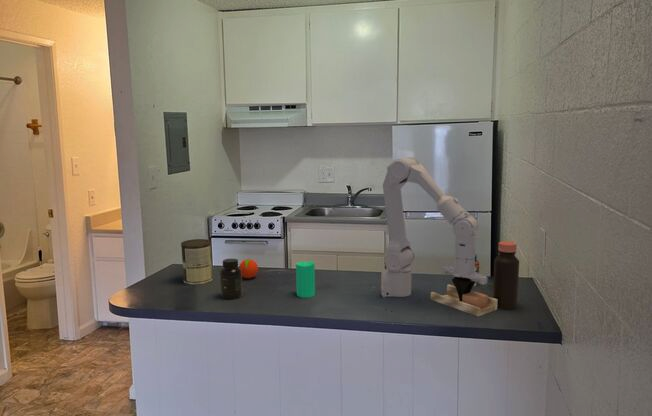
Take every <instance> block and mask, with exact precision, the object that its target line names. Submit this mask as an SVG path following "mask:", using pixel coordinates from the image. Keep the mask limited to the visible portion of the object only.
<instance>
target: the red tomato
mask: <svg viewBox="0 0 652 416" xmlns="http://www.w3.org/2000/svg"><path fill="white" fill-rule="evenodd" d="M238 267H239V268H240V269H241V271H242V278H244V279H252V278H254V277H256V275H257V274H258V271H259V266H258V263H257V262H256V260H253V259H250V258H246V259H244V260H242V261H241V262H240V264H239V265H238Z"/></svg>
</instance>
